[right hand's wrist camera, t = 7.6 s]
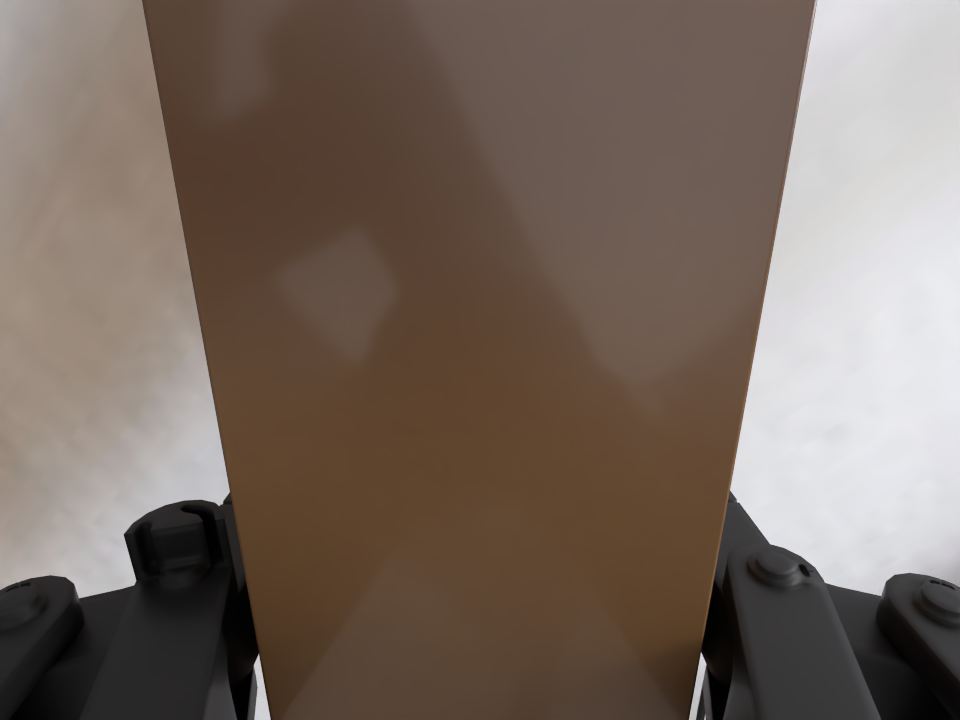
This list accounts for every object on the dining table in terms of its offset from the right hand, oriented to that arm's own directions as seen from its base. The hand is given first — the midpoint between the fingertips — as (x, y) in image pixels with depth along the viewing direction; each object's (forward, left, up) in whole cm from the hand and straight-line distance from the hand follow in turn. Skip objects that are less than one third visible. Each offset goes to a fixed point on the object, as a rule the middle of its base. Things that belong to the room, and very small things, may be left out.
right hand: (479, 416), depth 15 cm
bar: (-13, +23, -1) cm, 27 cm away
